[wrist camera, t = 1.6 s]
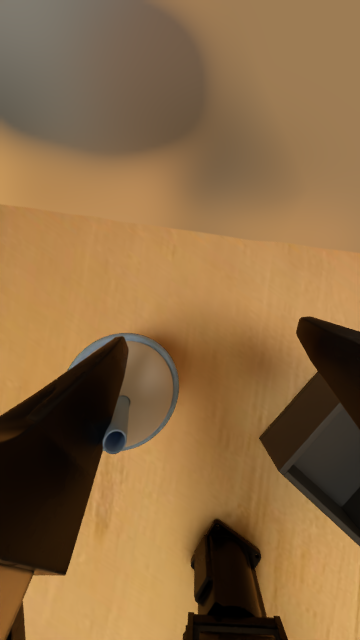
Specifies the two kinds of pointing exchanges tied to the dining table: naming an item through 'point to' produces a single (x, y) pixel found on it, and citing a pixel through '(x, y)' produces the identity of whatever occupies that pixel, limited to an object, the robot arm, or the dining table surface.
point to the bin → (320, 453)
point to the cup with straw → (139, 392)
